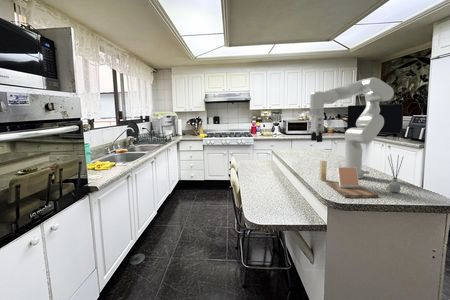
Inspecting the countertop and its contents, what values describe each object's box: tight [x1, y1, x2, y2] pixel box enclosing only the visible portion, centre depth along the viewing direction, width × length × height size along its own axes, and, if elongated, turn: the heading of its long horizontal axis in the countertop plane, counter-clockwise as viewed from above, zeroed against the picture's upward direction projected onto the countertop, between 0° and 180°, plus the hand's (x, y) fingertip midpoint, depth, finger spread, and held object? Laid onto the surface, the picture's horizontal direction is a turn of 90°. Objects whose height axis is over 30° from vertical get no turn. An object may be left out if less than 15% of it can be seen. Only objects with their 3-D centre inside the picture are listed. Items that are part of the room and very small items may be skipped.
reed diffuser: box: [385, 153, 404, 193], centre depth 120 cm, size 10×7×20 cm
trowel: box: [318, 160, 328, 182], centre depth 143 cm, size 8×6×13 cm
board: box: [324, 181, 380, 199], centre depth 125 cm, size 16×24×2 cm, turn 179°
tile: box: [336, 166, 360, 188], centre depth 126 cm, size 10×11×1 cm
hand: (316, 141), depth 142 cm, fingers open, 9 cm apart
